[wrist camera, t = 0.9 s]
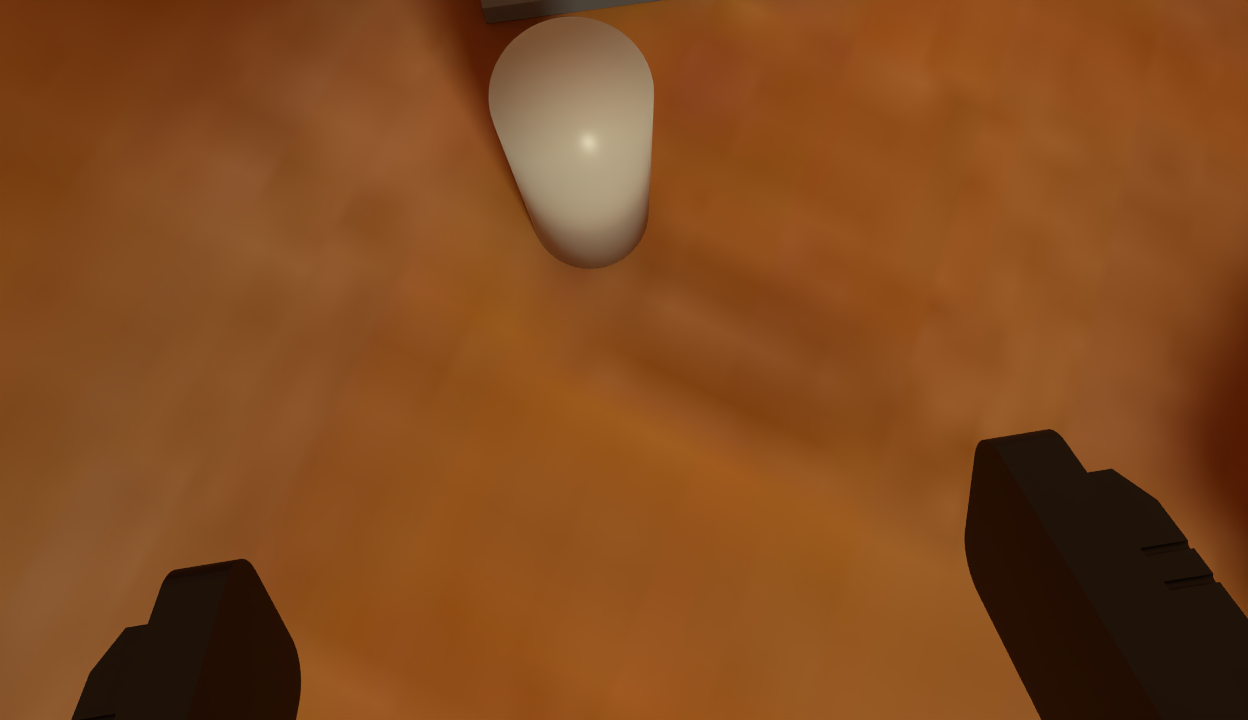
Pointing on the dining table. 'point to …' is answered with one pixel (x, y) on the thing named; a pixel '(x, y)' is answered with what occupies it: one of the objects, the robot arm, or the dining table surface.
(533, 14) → the candle board
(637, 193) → the cream candle
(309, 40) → the dining table surface
